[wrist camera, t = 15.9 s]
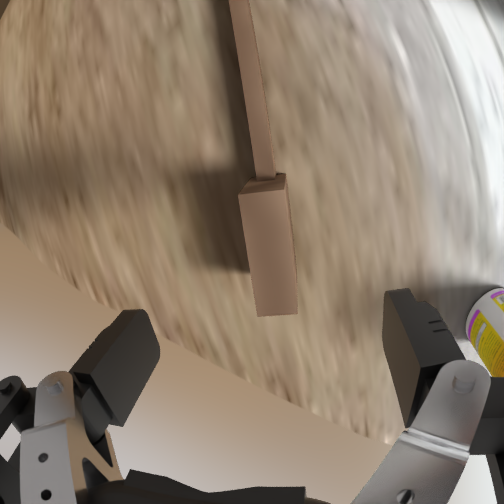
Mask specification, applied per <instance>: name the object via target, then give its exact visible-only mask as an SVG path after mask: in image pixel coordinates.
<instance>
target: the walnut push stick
mask: <svg viewBox="0 0 504 504" xmlns="http://www.w3.org/2000/svg"><path fill="white" fill-rule="evenodd" d="M229 6H230V12H231V18H232V24H233V30H234V36H235V42H236V48H237V54H238V60H239V67H240V73H241V79H242V85H243V92H244V98H245V105H246V111H247V118H248V124H249V131H250V137H251V144H252V151H253V157H254V164H255V171H256V177H255V178H250V180H249V181H248V182H247V183H246V185H245V186H244V187H243V189H242V190H241V191H240V193H239V194H238V199H239V206H240V212H241V218H242V224H243V230H244V237H245V243H246V249H247V255H248V261H249V267H250V274H251V280H252V286H253V292H254V298H255V304H256V310H257V316H258V317H261V316H276V315H290V314H298V305H297V269H296V259H295V249H294V239H293V230H292V221H291V212H290V204H289V195H288V187H287V179H286V174H280V175H276V169H275V161H274V154H273V147H272V140H271V133H270V126H269V119H268V112H267V106H266V99H265V93H264V86H263V80H262V74H261V68H260V62H259V56H258V50H257V44H256V38H255V32H254V27H253V21H252V15H251V10H250V4H249V0H229Z"/></svg>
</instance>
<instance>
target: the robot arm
mask: <svg viewBox="0 0 504 504" xmlns="http://www.w3.org/2000/svg"><path fill="white" fill-rule="evenodd" d="M382 340H383V348H384V352H385V355H386V358H387V362H388V365H389V369H390V372H391V376H392V379H393V383H394V386H395V390H396V394H397V397H398V401H399V405H400V409H401V413H402V417H403V421H404V425H405V428H409V427H410V428H409V429H408V431H403V432H402V434H401V435H400V436H399V438H398V439H397V441H396V442H395V444H394V445H393V447H392V448H391V450H390V451H389V453H388V454H387V456H386V457H385V459H384V460H383V462H382V463H381V464H380V466H379V467H378V469H377V470H376V472H375V473H374V474H373V476H372V477H371V478H370V480H369V481H368V482H367V484H366V485H365V486H364V487H363V489H362V490H361V491H360V493H359V494H358V495H357V496H356V498H355V499H354V500H353V501H352V502H351V504H447V503H448V501H449V499H450V497H451V495H452V493H453V491H454V489H455V487H456V485H457V483H458V481H459V479H460V477H461V474H462V472H463V470H464V468H465V465H466V463H467V460H468V458H469V455H486V458H487V462H488V465H489V468H490V473H491V477H492V481H493V486H494V490H495V495H496V499H497V504H504V377H490V375H489V373H488V372H487V370H486V369H485V368H484V367H483V366H481V365H480V364H478V363H476V362H473V361H470V360H466V359H465V357H464V355H463V353H462V351H461V350H460V348H459V346H458V344H457V343H456V341H455V339H454V337H453V336H452V334H451V332H450V331H449V330H448V327H447V326H446V324H445V322H443V319H442V317H441V316H440V314H439V313H438V311H437V309H435V308H434V307H432V306H431V305H429V304H428V303H427V302H418V303H417V301H416V300H415V298H414V296H413V295H412V293H411V291H410V290H409V289H408V288H405V289H397V290H389V291H386V292H385V295H384V312H383V329H382ZM159 358H160V346H159V343H158V341H157V338H156V335H155V333H154V330H153V327H152V325H151V322H150V319H149V316H148V314H147V312H146V311H145V310H143V309H133V310H123V311H122V312H121V313H120V314H119V316H118V317H117V318H116V319H115V321H113V323H112V324H111V325H110V326H108V327H107V328H106V329H104V330H103V331H102V332H101V333H100V334H99V335H98V336H97V338H96V339H95V341H94V342H93V343H92V344H91V345H90V346H89V349H87V350H86V351H85V352H84V353H83V354H82V356H81V357H80V358H79V360H78V361H77V362H76V363H75V364H74V366H73V367H72V368H71V369H70V371H69V372H66V371H58V372H54V373H52V374H50V375H48V376H46V377H45V378H44V379H43V380H42V381H41V382H40V383H39V385H38V387H33V388H26V386H25V385H24V383H23V381H22V380H21V378H20V377H18V376H10V377H7V378H5V379H3V380H2V381H0V439H1V437H2V436H3V435H4V433H5V431H6V430H7V429H8V427H9V426H10V424H11V423H12V424H13V425H14V427H15V428H16V429H17V430H18V431H19V432H20V434H21V441H20V443H19V445H18V446H17V448H16V449H15V451H14V453H13V454H12V456H11V458H10V459H9V461H8V462H7V461H6V460H5V459H4V458H3V457H2V456H1V455H0V504H330V503H328V502H324V501H321V500H317V499H312V498H307V497H306V489H305V487H251V488H245V489H238V490H231V491H223V492H213V493H207V492H203V491H200V490H197V489H195V488H192V487H190V486H187V485H185V484H182V483H180V482H177V481H175V480H172V479H170V478H168V477H165V476H159V475H154V474H150V473H145V472H140V471H136V470H131V469H130V471H129V473H128V475H127V477H126V479H125V480H124V479H123V477H122V475H121V473H120V470H119V466H118V463H117V459H116V455H115V452H114V448H113V444H112V440H111V436H110V433H109V432H108V430H107V429H106V428H107V427H108V425H109V424H111V425H116V426H121V427H123V426H124V423H125V422H126V420H127V418H128V416H129V414H130V413H131V411H132V409H133V407H134V405H135V403H136V401H137V400H138V398H139V396H140V394H141V392H142V390H143V388H144V387H145V385H146V383H147V381H148V379H149V377H150V376H151V374H152V372H153V370H154V368H155V366H156V364H157V363H158V361H159Z"/></svg>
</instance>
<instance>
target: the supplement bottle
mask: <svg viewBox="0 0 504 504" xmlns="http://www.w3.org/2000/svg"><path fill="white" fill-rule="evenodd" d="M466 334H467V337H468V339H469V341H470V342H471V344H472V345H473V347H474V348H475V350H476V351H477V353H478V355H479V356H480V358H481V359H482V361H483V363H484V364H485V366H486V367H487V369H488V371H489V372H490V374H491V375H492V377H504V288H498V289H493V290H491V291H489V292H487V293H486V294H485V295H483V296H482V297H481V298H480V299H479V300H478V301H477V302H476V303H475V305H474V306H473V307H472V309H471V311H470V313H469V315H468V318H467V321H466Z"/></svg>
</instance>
